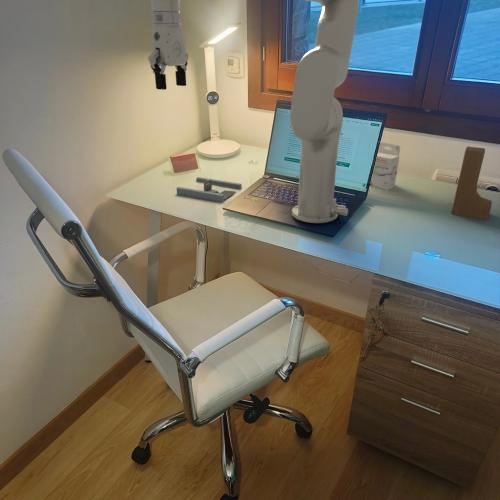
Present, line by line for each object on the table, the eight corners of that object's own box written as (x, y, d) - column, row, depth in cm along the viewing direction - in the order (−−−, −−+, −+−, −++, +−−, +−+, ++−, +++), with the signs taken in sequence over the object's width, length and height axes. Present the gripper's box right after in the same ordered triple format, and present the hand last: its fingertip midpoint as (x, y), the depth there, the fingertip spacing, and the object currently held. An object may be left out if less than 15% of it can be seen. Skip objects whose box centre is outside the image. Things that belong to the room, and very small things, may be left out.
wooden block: (488, 215, 120) (505, 150, 112) (487, 221, 116) (505, 154, 108) (452, 210, 124) (466, 146, 116) (450, 215, 120) (465, 149, 112)
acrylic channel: (241, 189, 139) (241, 183, 138) (222, 202, 129) (222, 195, 128) (198, 182, 146) (198, 176, 145) (176, 194, 136) (176, 187, 135)
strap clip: (220, 195, 136) (220, 181, 134) (212, 197, 134) (212, 183, 132) (204, 188, 141) (203, 175, 140) (196, 190, 140) (195, 177, 138)
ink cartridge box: (361, 190, 139) (367, 143, 132) (369, 186, 142) (375, 140, 136) (386, 196, 134) (393, 148, 127) (394, 192, 137) (401, 145, 130)
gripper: (158, 19, 110) (164, 91, 118) (195, 20, 124) (199, 85, 132) (134, 19, 113) (141, 90, 121) (173, 20, 127) (178, 83, 135)
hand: (171, 87), depth 126 cm, fingers open, 9 cm apart
